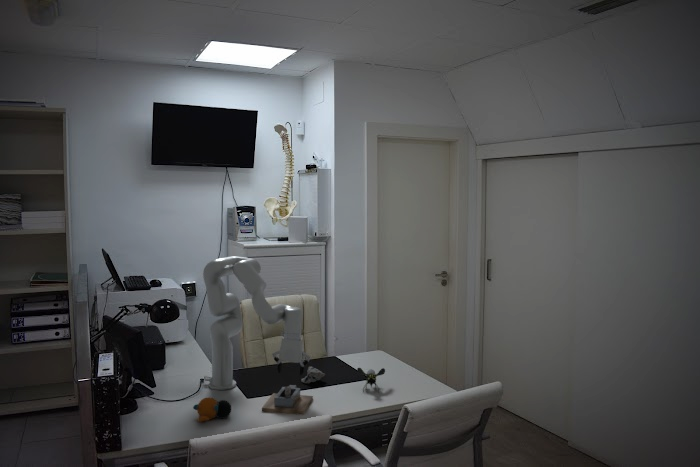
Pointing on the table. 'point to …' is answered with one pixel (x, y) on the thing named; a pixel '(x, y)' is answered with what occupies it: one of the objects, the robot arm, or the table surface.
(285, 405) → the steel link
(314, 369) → the mineral specimen
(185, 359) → the table surface
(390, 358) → the table surface
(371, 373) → the insect
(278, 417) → the table surface
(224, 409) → the toy
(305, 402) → the keeper board
